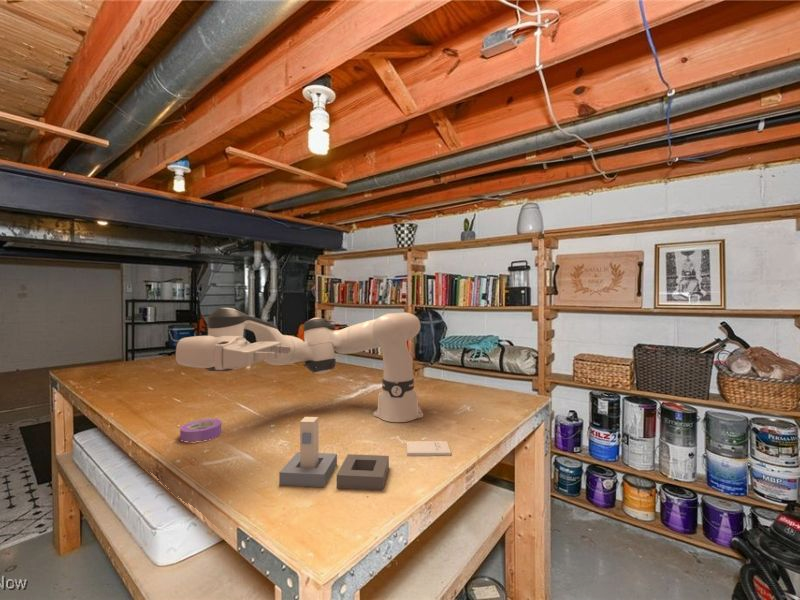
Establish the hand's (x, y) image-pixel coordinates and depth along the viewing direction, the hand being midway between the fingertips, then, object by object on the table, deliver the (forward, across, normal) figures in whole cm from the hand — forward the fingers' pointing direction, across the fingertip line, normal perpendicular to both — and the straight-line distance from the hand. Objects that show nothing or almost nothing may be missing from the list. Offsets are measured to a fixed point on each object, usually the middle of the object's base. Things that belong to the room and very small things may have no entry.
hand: (283, 352), depth 94 cm
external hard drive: (+39, -12, -31) cm, 51 cm away
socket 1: (+9, +5, -30) cm, 32 cm away
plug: (+9, +5, -30) cm, 32 cm away
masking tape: (-35, -16, -30) cm, 49 cm away
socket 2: (+23, +5, -30) cm, 38 cm away
